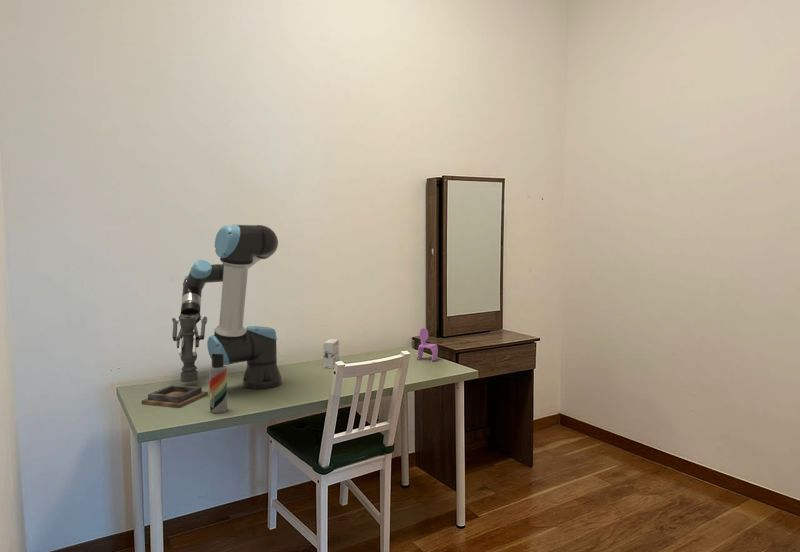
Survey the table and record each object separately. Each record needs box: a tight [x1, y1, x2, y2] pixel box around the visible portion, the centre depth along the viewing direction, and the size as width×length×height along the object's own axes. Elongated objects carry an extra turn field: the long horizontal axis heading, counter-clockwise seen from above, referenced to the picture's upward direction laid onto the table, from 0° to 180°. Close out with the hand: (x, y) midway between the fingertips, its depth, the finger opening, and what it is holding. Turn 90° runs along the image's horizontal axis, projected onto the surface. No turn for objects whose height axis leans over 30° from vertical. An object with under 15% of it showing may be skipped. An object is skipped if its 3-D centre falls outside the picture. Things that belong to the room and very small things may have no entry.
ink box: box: [322, 338, 340, 369], centre depth 253 cm, size 9×5×12 cm, turn 168°
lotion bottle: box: [208, 354, 229, 414], centre depth 190 cm, size 6×6×20 cm
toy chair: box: [415, 327, 439, 362], centre depth 265 cm, size 8×9×15 cm
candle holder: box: [179, 317, 199, 383], centre depth 219 cm, size 6×6×25 cm
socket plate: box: [141, 384, 209, 409], centre depth 203 cm, size 16×16×3 cm
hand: (187, 354), depth 216 cm, fingers closed on candle holder, 4 cm apart
